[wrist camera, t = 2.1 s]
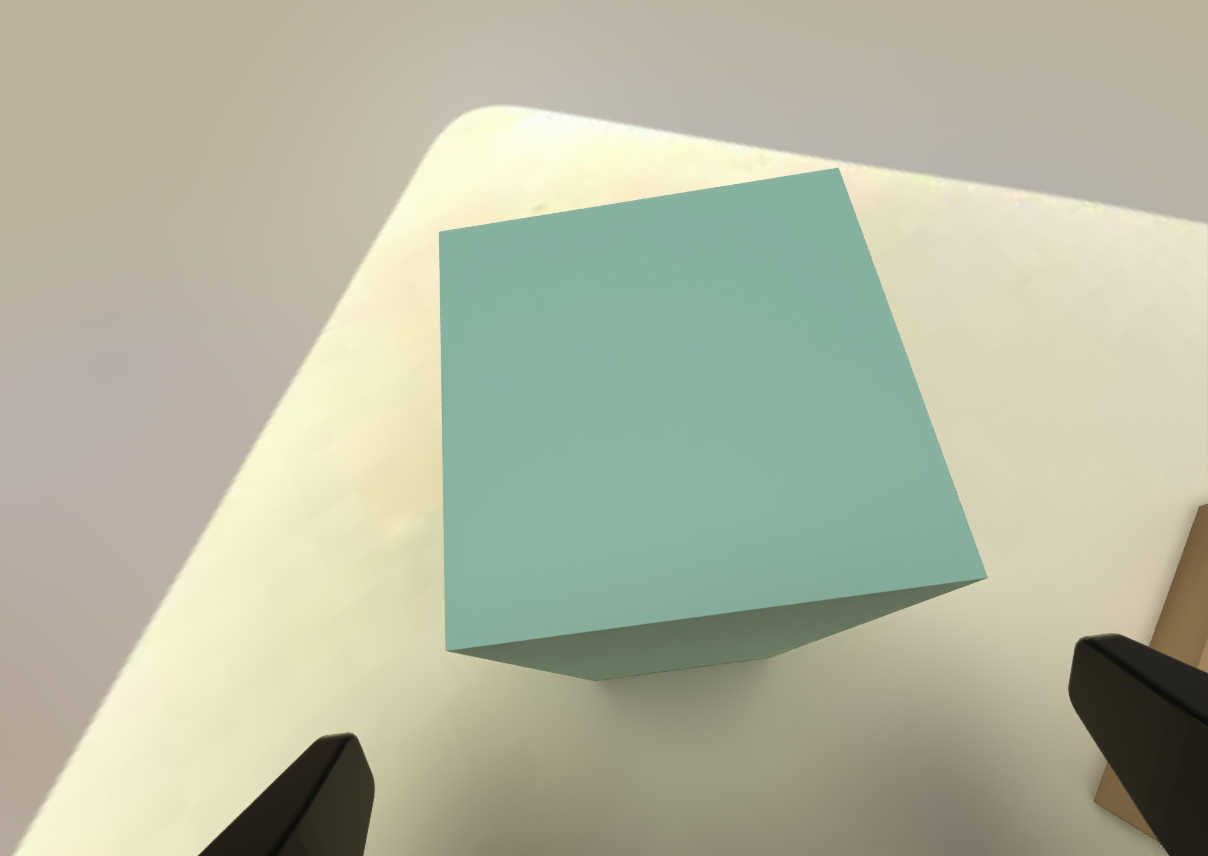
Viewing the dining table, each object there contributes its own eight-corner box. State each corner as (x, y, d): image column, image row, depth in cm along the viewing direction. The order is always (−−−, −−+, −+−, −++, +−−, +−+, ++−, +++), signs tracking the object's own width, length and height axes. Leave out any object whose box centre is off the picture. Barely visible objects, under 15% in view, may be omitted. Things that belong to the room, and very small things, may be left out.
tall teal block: (770, 657, 18) (988, 577, 6) (594, 680, 18) (445, 650, 6) (733, 489, 20) (839, 167, 8) (576, 511, 20) (438, 231, 8)
